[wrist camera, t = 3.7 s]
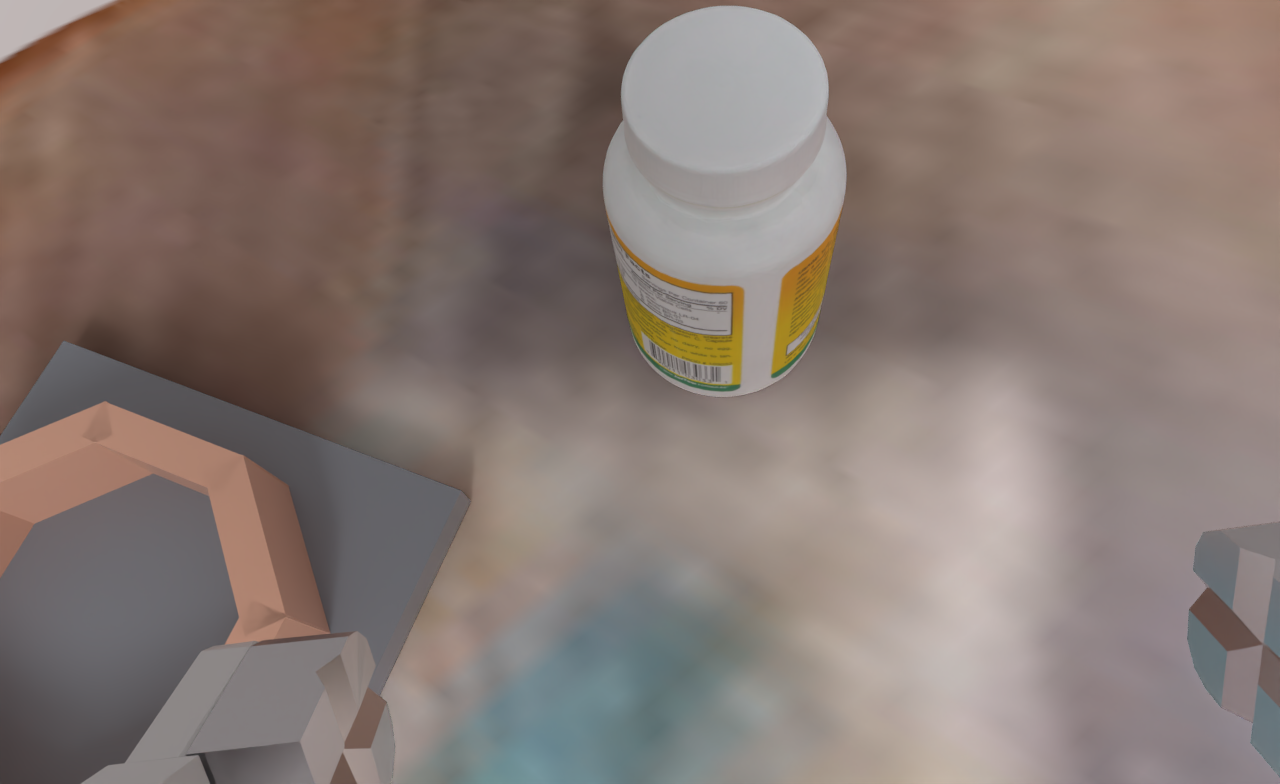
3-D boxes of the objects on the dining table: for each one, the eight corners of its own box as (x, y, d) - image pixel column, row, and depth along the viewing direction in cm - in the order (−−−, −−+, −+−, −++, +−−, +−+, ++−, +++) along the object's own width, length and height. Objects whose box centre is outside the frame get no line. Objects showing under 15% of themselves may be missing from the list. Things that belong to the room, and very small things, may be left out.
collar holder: (221, 1029, 21) (129, 1074, 18) (-203, 794, 24) (-348, 796, 21) (471, 501, 25) (432, 460, 22) (85, 355, 28) (2, 299, 25)
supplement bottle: (660, 426, 26) (622, 238, 17) (608, 264, 28) (551, 21, 19) (848, 369, 26) (909, 153, 17) (783, 212, 28) (807, -53, 19)
